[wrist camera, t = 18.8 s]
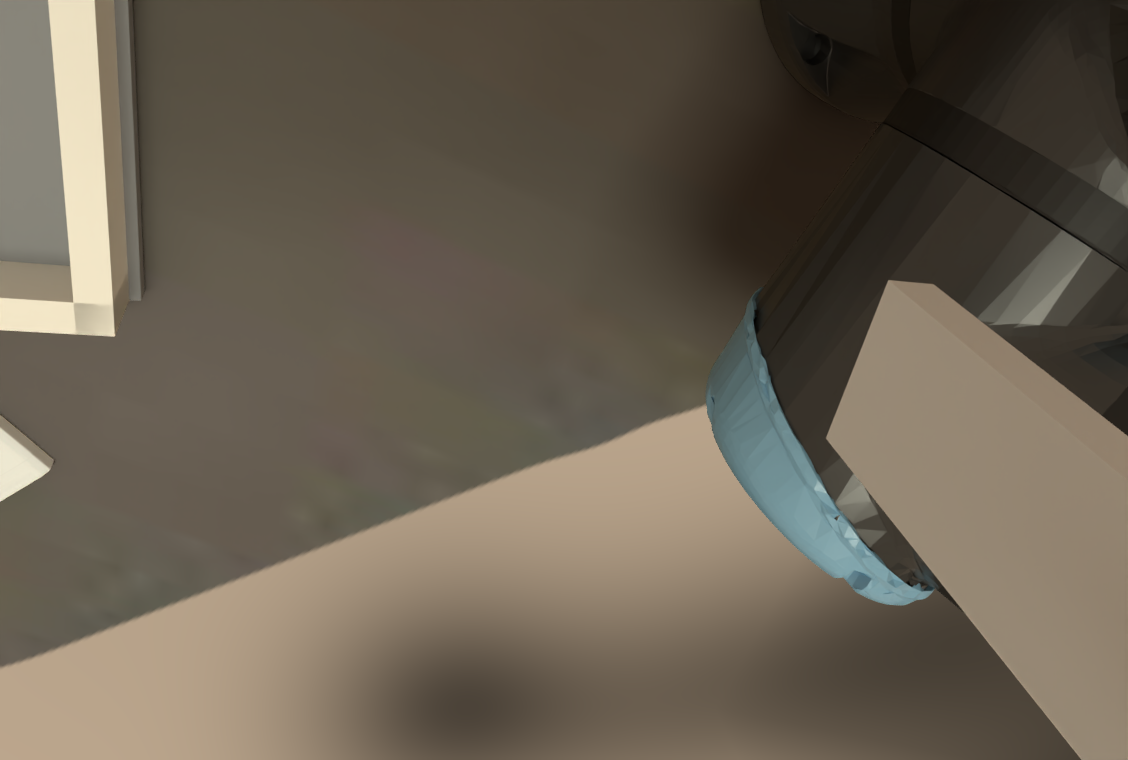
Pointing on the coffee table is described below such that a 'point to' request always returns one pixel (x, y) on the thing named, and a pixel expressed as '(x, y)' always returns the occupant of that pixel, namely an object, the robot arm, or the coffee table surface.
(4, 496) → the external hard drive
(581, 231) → the coffee table surface
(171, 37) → the coffee table surface
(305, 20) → the coffee table surface
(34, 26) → the white tray
